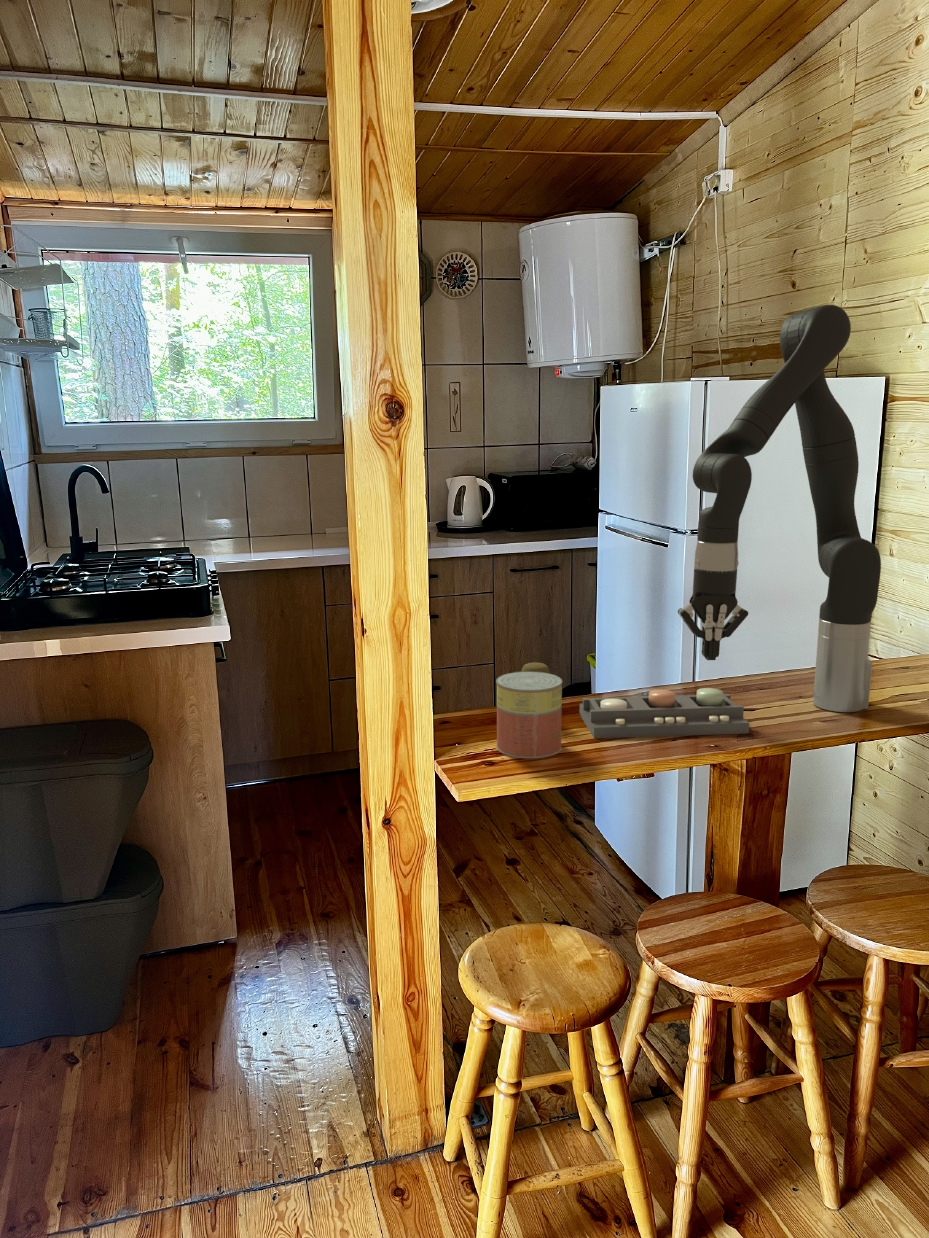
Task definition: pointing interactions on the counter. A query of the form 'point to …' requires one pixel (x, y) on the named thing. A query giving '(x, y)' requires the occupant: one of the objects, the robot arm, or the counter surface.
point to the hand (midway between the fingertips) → (709, 659)
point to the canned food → (529, 714)
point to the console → (663, 718)
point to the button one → (613, 704)
